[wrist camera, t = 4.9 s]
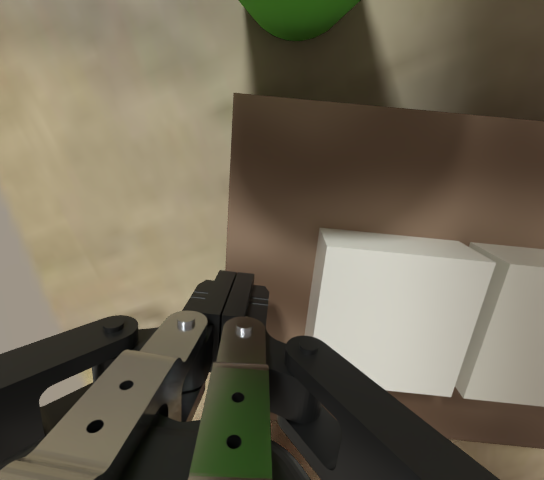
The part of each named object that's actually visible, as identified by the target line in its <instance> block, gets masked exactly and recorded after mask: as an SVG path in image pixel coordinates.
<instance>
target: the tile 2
mask: <svg viewBox="0 0 544 480" xmlns="http://www.w3.org/2000/svg"><path fill="white" fill-rule="evenodd" d="M469 247H470V248H472V249H473V250H475V251H477V252H479V253H480V254H482V255H484V256H486V257H487V258H489V259H491V260H492V261H494V262H496V265H495V268H494V271H493V274H492V277H491V280H490V283H489V286H488V289H487V292H486V295H485V298H484V301H483V304H482V307H481V310H480V313H479V316H478V319H477V322H476V325H475V328H474V331H473V334H472V337H471V340H470V343H469V345H468V348H467V351H466V354H465V357H464V360H463V363H462V366H461V369H460V372H459V375H458V378H457V381H456V384H455V387H456V389H457V390H458V392H459V393H460V394H461V396H462V397H463V398H464V399H474V400H483V401H493V402H503V403H512V404H522V405H532V406H542V407H544V249H536V248H525V247H515V246H505V245H494V244H484V243H474V242H470V245H469Z"/></svg>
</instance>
